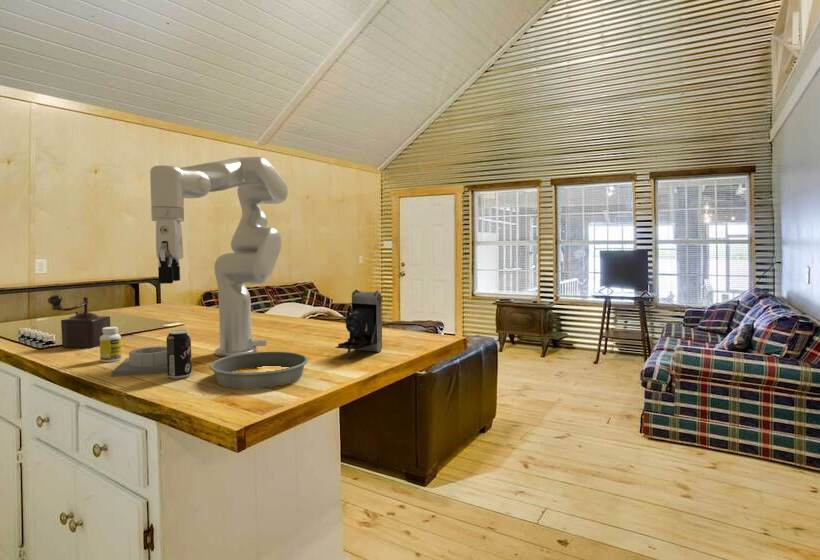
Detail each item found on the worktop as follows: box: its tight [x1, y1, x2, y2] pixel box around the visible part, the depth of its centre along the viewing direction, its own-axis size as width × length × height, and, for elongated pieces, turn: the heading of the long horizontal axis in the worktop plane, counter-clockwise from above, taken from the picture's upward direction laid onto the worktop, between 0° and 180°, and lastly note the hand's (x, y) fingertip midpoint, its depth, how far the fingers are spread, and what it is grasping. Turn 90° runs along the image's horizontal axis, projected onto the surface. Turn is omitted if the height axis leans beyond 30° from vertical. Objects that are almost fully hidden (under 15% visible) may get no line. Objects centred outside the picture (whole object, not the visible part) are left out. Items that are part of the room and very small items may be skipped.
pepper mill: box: [47, 294, 111, 350], centre depth 166 cm, size 16×11×18 cm
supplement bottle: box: [99, 326, 123, 363], centre depth 147 cm, size 5×5×10 cm
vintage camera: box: [334, 289, 383, 360], centre depth 155 cm, size 10×16×20 cm, turn 158°
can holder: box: [111, 345, 168, 377], centre depth 140 cm, size 16×16×5 cm
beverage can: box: [165, 329, 193, 380], centre depth 129 cm, size 6×6×12 cm
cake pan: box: [208, 351, 309, 389], centre depth 129 cm, size 25×25×4 cm
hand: (169, 282), depth 128 cm, fingers open, 9 cm apart
